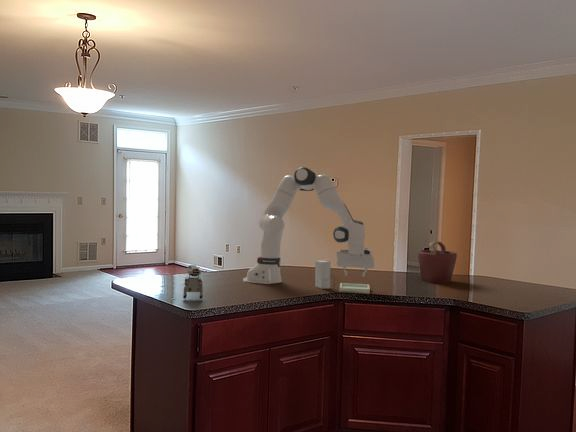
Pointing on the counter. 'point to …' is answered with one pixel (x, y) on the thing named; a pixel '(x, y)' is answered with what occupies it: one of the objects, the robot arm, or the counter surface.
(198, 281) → the figurine
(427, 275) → the bucket
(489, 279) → the counter surface
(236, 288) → the counter surface
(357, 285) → the sage tray
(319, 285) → the skincare box
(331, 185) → the robot arm
